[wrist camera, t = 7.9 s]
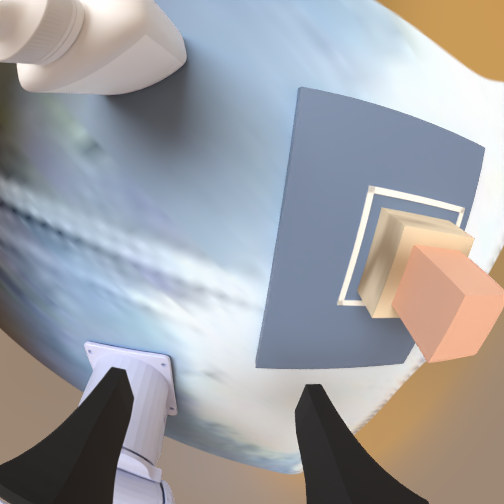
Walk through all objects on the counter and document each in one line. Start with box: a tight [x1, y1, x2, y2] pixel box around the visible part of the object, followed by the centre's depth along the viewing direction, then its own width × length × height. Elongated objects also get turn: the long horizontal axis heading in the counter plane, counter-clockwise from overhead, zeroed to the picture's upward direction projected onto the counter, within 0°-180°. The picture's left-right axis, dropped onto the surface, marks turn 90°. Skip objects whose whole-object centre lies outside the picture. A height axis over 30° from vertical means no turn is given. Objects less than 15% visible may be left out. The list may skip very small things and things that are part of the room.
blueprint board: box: [256, 87, 485, 369], centre depth 18 cm, size 20×14×1 cm
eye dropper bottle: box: [0, 0, 187, 95], centre depth 7 cm, size 4×6×12 cm
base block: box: [357, 207, 475, 318], centre depth 16 cm, size 6×6×3 cm
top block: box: [391, 245, 504, 363], centre depth 13 cm, size 4×4×5 cm
